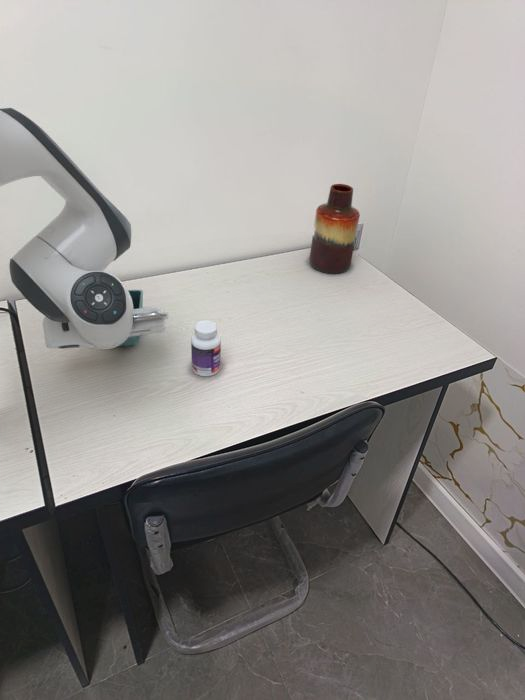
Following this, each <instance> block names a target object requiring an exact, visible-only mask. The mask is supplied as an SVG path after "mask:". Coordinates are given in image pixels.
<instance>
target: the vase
mask: <svg viewBox="0 0 525 700" xmlns="http://www.w3.org/2000/svg"><path fill="white" fill-rule="evenodd" d="M353 196H354V188H353V187H352V186H351V185H348V184H345V183H335V184H332V185H331V186H330V188H329V192H328V197H327V202H325V203H322V204H319V205H317V207H316V210H315V215H314V223H313V230H312V231H313V232H312V238H311V245H310V253H309V260H308V261H309V262H308V263H309V265H310V266H311V267H312V268H313V269H314V270H316V271H318V272H321V273H324V274H330V275H338V274H339V275H340V274H343V273H347V272H348V270H350V268H351V264H352V260H353V259H352V258H353V253H354V250H355V243H356V239H357V233H358V228H359V223H360V217H361V213H360V211H359V210H358V209H357V208H356V207H354V206H353Z"/></svg>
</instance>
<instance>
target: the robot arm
mask: <svg viewBox="0 0 525 700" xmlns="http://www.w3.org/2000/svg"><path fill="white" fill-rule="evenodd" d="M33 177H40V178H41V179H43V180H44V181H45V183H47V184H48V185H49V186H50V187H51V188H52V189H53V190H54V191H55V192H56V193H57V194H58V195H59V196H60V197H61V198H63V200H64V201H65V204H64V206H63V208H62V210H61V211H60V212H59V214H58V215H57V216H56V217H55V218H54V219H52V220H51V221H50V222H49V223H48V224H47V225H46V226H45V227H43V229H42V230H40V231H39V232H38V233H37V234H36V235H34V236H33V237H32V238H31V239H30V240H29V241H27V242H26V243H25V245H23V246H22V247H21V248H20V249H19V250H18V251H17V252H16V253H15V254H13V256H12V257H11V258H10V259H9V274H10V279H11V282H12V284H13V286H14V287H15V288H16V289H17V290H18V291H19V292H20V293H21V295H22V296H23V297H24V298H25V300H27V301H28V302H29V304H31V306H33V307H34V308H35V309H36V310H37V311H38V312H39V313H41V314H42V315H43V316H44V318H43V320H42V330H43V336H44V342H45V347H46V348H47V349H53V350H59V349H61V350H62V349H73V348H75V349H76V348H86V349H98V350H111V349H114V348H117V347H120V346H119V345H121V344H122V343H124V342H125V341H126V340H127V338H128V337H132V336H139V335H140V336H145V335H153V334H159V333H160V334H161V333H164V332H165V331H166V323H165V320H168V318H169V313H168V312H167V311H163V309H162V308H160V307H159V306H148V307H143V308H139V309H133V302H132V298H131V296H130V293H129V291H128V290H129V289H128V288H127V287H126V286H125V284H124V283H123V282H122V281H121V279H119V278H118V277H117V276H115V275H114V274H112V273H110V272H107V271H105V269H106V268H108V266H109V265H111V264H112V263H113V262H115V261H116V260H117V259H118V258H120V257H121V256H122V255H124V253H125V252H127V251H128V250H130V248H131V246H132V245H131V244H132V224H131V222H130V221H129V220H128V218H127V217H126V215H125V214H124V212H123V211H122V210H121V209H120V208H119V207H118V206H117V205H116V204H115V203H113V202H112V201H111V200H109V198H107V197H106V195H104V194H103V193H102V191H100V190H99V188H98V187H97V186H96V185H95V184H94V183H93V182H92V181H91V180H90V178H89V177H88V176H87V175H86V174H85V173H84V172H83V171H82V170H81V169H80V168H79V167H78V165H77V164H76V163H75V162H74V160H72V159H71V157H70V156H69V155H68V154H67V153H66V152H65V151H64V150H63V149H62V147H60V146H59V145H58V143H56V141H54V140H53V139H52V137H51V136H50V135H49V134H48V133H47V132H46V131H45V130H43V128H42V127H41V126H39V125H38V124H37V123H36V122H34V121H33V120H32V119H31V118H29V116H26V115H25V114H23V113H21V112H20V111H18V110H16V109H15V108H13V107H4V108H0V187H3V186H5V185H8V184H10V183H13V182H16V181H20V180H23V179H28V178H33Z"/></svg>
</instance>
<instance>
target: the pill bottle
mask: <svg viewBox="0 0 525 700" xmlns="http://www.w3.org/2000/svg"><path fill="white" fill-rule="evenodd" d="M221 340H222V339H221V336H220V334H219V333H218V326H217V324H216V323H215V322H214V321H212V320H207V319H205V320H204V319H203V320H199V321H198V322H196V323H195V325H194V333H193V334H192V335H191V338H190V351H191V369H192V371H193V372H194V373H195V374H196V375H197V376H201V377H211V376H214V375H217V374H218V373H219V372H220V369H221V356H222V355H221V353H222V352H221V351H222V349H221V347H222V341H221Z"/></svg>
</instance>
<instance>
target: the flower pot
mask: <svg viewBox="0 0 525 700" xmlns="http://www.w3.org/2000/svg"><path fill="white" fill-rule="evenodd" d="M127 290H128V291H129V293H130V296H131V298H132V302H133V309H139V308H144V306H143V305H144V303H143V302H144V291H143V289H127ZM140 337H141V335H139V336H132V337H128V338H127V340H126V341H125V342H124V343H122V344H121V345H119V346H118V347H128V346H129V347H130V346H136V344H137V343H138V341H139V340H140Z"/></svg>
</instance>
